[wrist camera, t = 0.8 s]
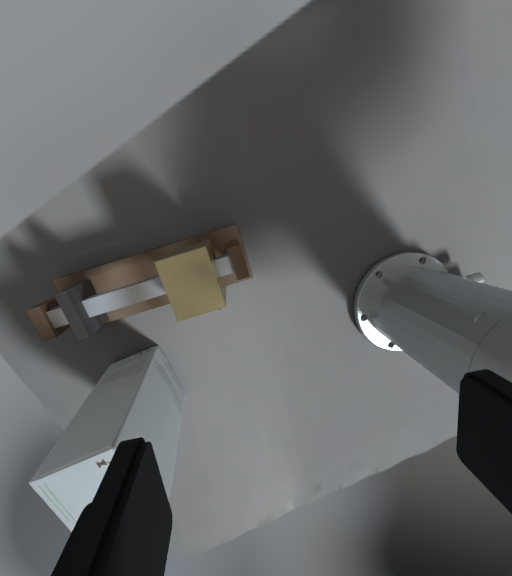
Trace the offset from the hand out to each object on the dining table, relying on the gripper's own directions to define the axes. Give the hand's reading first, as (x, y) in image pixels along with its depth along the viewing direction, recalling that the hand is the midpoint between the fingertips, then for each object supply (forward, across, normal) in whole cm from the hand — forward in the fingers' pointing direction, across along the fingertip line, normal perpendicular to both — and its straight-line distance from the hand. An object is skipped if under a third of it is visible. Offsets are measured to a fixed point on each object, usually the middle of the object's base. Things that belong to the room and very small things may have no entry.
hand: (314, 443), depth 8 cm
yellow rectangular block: (+22, +5, -2) cm, 23 cm away
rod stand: (+25, +10, -1) cm, 27 cm away
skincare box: (+26, +14, +11) cm, 31 cm away
